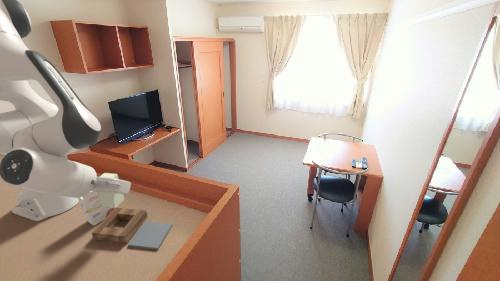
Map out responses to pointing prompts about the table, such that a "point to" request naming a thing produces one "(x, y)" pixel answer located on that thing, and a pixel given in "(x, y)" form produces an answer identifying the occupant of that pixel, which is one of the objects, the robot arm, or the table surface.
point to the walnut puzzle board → (120, 235)
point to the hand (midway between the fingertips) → (111, 188)
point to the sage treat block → (110, 194)
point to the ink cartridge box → (94, 208)
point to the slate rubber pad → (150, 235)
